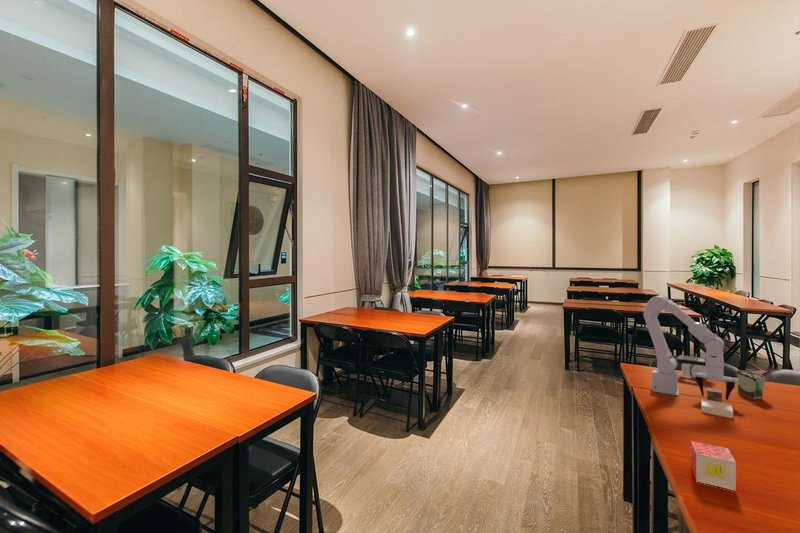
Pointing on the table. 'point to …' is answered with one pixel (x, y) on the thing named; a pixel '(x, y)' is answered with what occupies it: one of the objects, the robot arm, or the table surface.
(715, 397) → the grayish beige block
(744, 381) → the food container
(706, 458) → the pink and white box
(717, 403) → the base block
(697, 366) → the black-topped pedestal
